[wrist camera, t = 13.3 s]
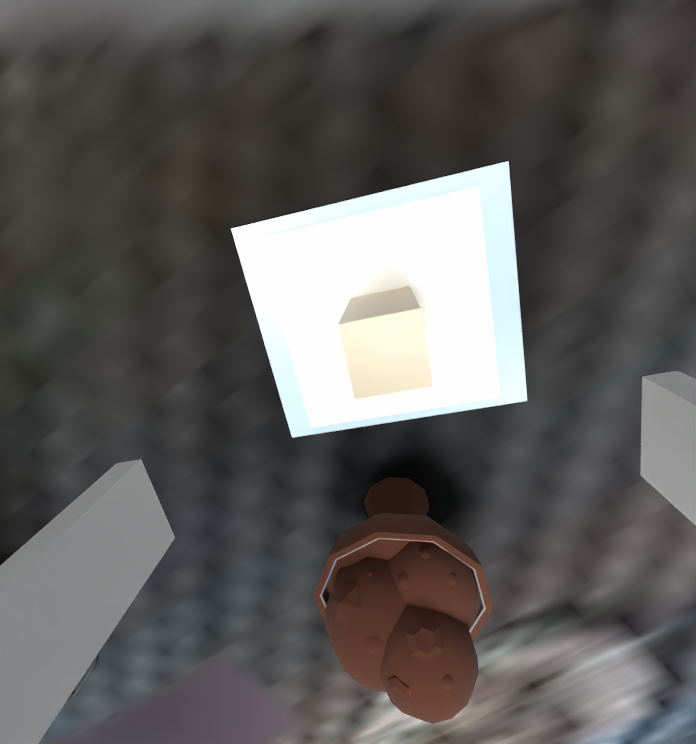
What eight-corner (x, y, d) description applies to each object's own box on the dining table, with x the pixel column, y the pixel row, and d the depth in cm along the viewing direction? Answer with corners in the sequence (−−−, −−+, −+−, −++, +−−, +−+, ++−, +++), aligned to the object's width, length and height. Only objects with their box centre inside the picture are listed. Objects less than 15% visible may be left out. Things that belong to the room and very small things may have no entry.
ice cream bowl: (443, 433, 31) (494, 601, 17) (472, 544, 34) (536, 762, 20) (316, 462, 33) (266, 637, 19) (356, 565, 36) (339, 779, 22)
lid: (312, 422, 31) (287, 492, 23) (263, 238, 27) (209, 240, 18) (497, 393, 29) (543, 458, 21) (475, 187, 24) (523, 165, 16)
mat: (293, 433, 32) (292, 437, 31) (234, 228, 27) (231, 228, 26) (524, 397, 29) (527, 400, 29) (505, 162, 24) (508, 161, 24)
